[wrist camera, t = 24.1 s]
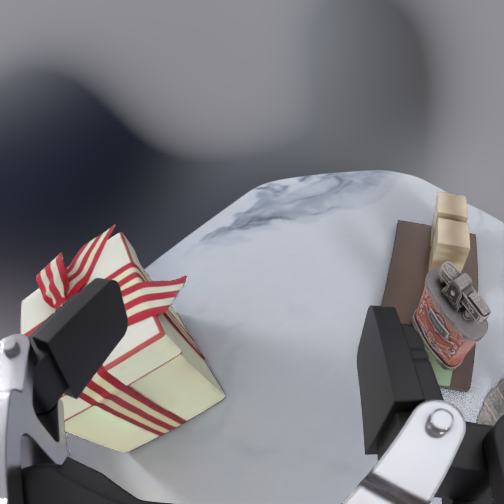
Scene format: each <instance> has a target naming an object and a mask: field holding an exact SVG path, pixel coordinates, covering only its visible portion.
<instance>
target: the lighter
mask: <svg viewBox="0 0 504 504" xmlns="http://www.w3.org/2000/svg"><path fill="white" fill-rule="evenodd" d="M490 313H491V311H490V309H489V307H488V306H487V304H486V303H485V302H484V301H483V299H482V298H481V297H480V296H479V294H478V293H477V292H476V291H475V290H474V288H473V285H472V279H471V277H470V276H469V275H468V274H467V273H460V272H459V271H458V269H457V268H456V267H455V266H454V265H453V264H452V263H451V262H445V263H444V264H442V267H441V268H440V267H438V268H433V269H431V270H430V271H429V272H428V273H427V275H426V278H425V288H424V291H423V294H422V297H421V300H420V302H419V305H418V308H417V309H416V311H415V312H414V315H413V318H412V322H413V325H414V327H415V330H416V331H417V332H418V333H419V334H420V336H421V338H422V341H423V344H424V346H425V348H426V350H427V351H428V352H429V354H430V355H431V356H432V358H433V359H434V360H435V361H436V362H437V363H438V364H439V365H440V366H441V367H442V368H443V369H444V370H446V371H452V370H454V369H456V368H457V367H458V366H459V365H460V364H461V363H462V361H463V358H464V357H465V356H466V354H467V353H468V352H469V351H470V350H471V348H472V347H473V346H474V345H475V343H476V342H477V341H479V340H480V339H481V338H482V337H483V336H484V335H485V333H486V332H487V329H488V322H487V318H488V316H489V315H490Z"/></svg>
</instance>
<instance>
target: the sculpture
mask: <svg viewBox="0 0 504 504" xmlns="http://www.w3.org/2000/svg"><path fill="white" fill-rule="evenodd" d="M503 415H504V379H502V380H501V381H500V382H499V384H498V386H497V387H496V388H494V389H492V390H491V392H490V393H489V394H488V396H487V398H486V399H485V402H484V406H483V408H482V410H481V412H480V415H479V418H478V423H477V424H484V425H491V426H494V425H495V423H496V422H497V421H498V420H499V418H500V417H501V416H503Z"/></svg>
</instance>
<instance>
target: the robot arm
mask: <svg viewBox="0 0 504 504" xmlns="http://www.w3.org/2000/svg"><path fill="white" fill-rule="evenodd" d="M127 327H128V318H127V314H126V310H125V306H124V302H123V297H122V293H121V289H120V285H119V283H118V282H117V281H115V280H110V279H103V278H95V279H94V280H93V281H91V282H90V283H89V284H88V285H87V286H86V287H85V288H83V289H82V290H81V291H80V292H78V293H76V294H75V295H73V296H71V297H70V298H69V299H68V300H67V301H65V302H64V303H63V304H62V306H60V307H59V308H58V309H57V310H56V311H55V313H52V314H51V315H50V316H49V317H48V318H47V319H46V320H45V321H44V322H43V323H42V324H41V325H39V326H38V327H37V328H36V329H35V330H34V331H33V332H32V333H31V334H30V335H29V336H28V337H27V336H25V335H23V334H13V335H10V336H8V337H6V338H4V339H3V340H1V341H0V504H171V503H159V502H149V501H143V500H139V499H137V498H136V497H134V496H133V495H131V494H130V493H128V492H127V491H125V490H124V489H122V488H121V487H120V486H118V485H117V484H115V483H114V482H113V481H111V480H110V479H109V478H107V477H106V476H105V475H104V474H102V473H100V472H98V471H96V470H94V469H92V468H89V467H87V466H85V465H83V464H81V463H79V462H77V461H75V460H73V459H71V458H70V456H69V453H68V450H67V444H66V435H65V423H64V407H63V402H62V400H61V399H60V398H61V396H62V395H63V394H65V395H67V396H70V397H72V398H74V399H77V398H78V397H79V396H80V394H81V393H82V392H83V390H84V389H85V387H86V386H87V385H88V383H89V382H90V381H91V379H92V378H93V376H94V375H95V374H96V372H97V371H98V370H99V368H100V367H101V366H102V364H103V363H104V362H105V360H106V359H107V358H108V356H109V355H110V354H111V352H112V351H113V350H114V348H115V347H116V346H117V345H118V343H119V342H120V341H121V339H122V338H123V337H124V335H125V334H126V331H127ZM357 368H358V377H359V386H360V395H361V406H362V417H363V430H364V445H365V455H368V454H378V462H377V464H376V465H375V466H374V467H373V469H372V470H371V471H370V472H369V474H368V475H367V476H366V477H365V478H364V479H363V480H362V481H361V482H360V483H359V485H358V486H357V487H356V488H355V489H354V490H353V491H352V492H351V494H350V495H349V496H348V497H347V498H346V499H345V500H344V501H343V502H342V503H341V504H430V502H431V500H432V499H433V497H439V498H442V504H504V415H503V416H501V417H500V418H499V420H498V421H497V422H496V423H495V425H494V426H491V425H484V424H477V423H471V422H466V421H465V419H464V416H463V414H462V413H461V412H460V410H459V409H458V408H457V407H455V406H454V405H452V404H451V403H449V402H446V401H444V400H443V397H442V394H441V391H440V388H439V385H438V382H437V379H436V376H435V373H434V370H433V367H432V365H431V362H430V361H429V357H428V354H427V351H426V350H425V346H424V344H423V341H422V338H421V336H420V334H419V333H418V332H417V331H416V330H415V329H414V328H413V327H412V326H411V325H410V324H401V321H400V319H399V316H398V313H397V311H396V308H395V307H392V306H370V307H369V308H368V311H367V315H366V319H365V323H364V327H363V331H362V335H361V339H360V343H359V347H358V354H357ZM491 492H492V493H491ZM492 499H493V500H492Z"/></svg>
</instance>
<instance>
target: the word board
mask: <svg viewBox="0 0 504 504" xmlns="http://www.w3.org/2000/svg"><path fill="white" fill-rule="evenodd" d="M467 220H468V211H467V203H466V197H464V196H460V195H454V194H449V193H444V192H438V193H437V199H436V205H435V210H434V215H433V221H432V226H429V225H424V224H418V223H412V222H406V221H400V220H398V224H397V231H396V237H395V243H394V248H393V254H392V259H391V264H390V269H389V274H388V278H387V283H386V288H385V292H384V296H383V301H382V305H381V306H392V307H395V308H396V311H397V313H398V316H399V319H400V321H401V324H410V325H411V326H412V327H413V328H414V329H415V327H414V325H413V322H412V318H413V315H414V312H415V311H416V309H417V308H418V305H419V302H420V300H421V297H422V294H423V291H424V288H425V278H426V275H427V273H428V272H429V271H430V270H431V269H433V268H438V267H440V268H441V267H442V264H444V263H445V262H451V263H452V264H453V265H454V266H455V267H456V268H457V269H458V271H459V272H460V273H467V274H468V275H469V276H470V277H471V279H472V285H473V288H474V290H475V291H476V292H477V293H478V264H477V246H476V235H475V234H471V233H469V224H468V223H467ZM475 345H476V343H475ZM475 345H474V346H473V347H472V348H471V350H470V351H469V352H468V353H467V354H466V356H465V357H464V358H463V361H462V363H461V364H460V365H459V366H458V367H457V368H456V369H454V370H452V371H446V370H444V369H443V368H442V367H441V366H440V365H439V364H438V363H437V362H436V361H435V360H434V359H433V358H432V356H431V355H430V354H429V352H428V351H427V350H426V348H425V350H426V351H427V354H428V357H429V361H430V362H431V365H432V367H433V370H434V373H435V376H436V379H437V382H438V385H439V387H440V388H446V389H452V390H458V391H464V392H467V391H469V390H470V384H471V378H472V371H473V363H474V355H475Z"/></svg>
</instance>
